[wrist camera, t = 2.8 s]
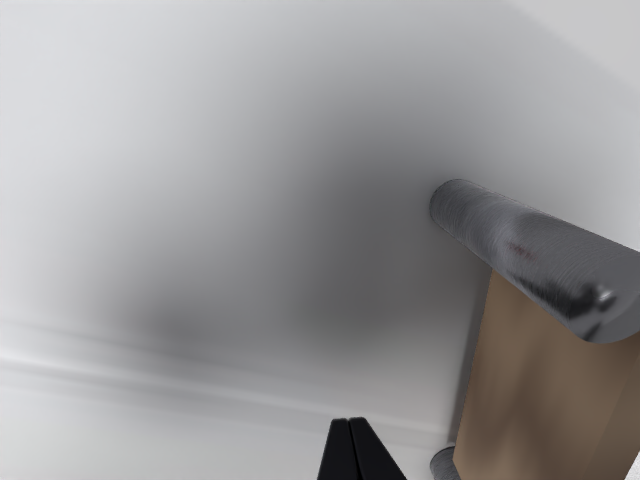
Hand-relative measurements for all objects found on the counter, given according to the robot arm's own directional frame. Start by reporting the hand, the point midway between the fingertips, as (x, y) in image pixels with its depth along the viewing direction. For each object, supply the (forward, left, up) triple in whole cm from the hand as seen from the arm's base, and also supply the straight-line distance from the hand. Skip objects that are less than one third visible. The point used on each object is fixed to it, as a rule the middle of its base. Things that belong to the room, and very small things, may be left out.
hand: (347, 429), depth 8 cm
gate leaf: (-2, -7, -4) cm, 8 cm away
